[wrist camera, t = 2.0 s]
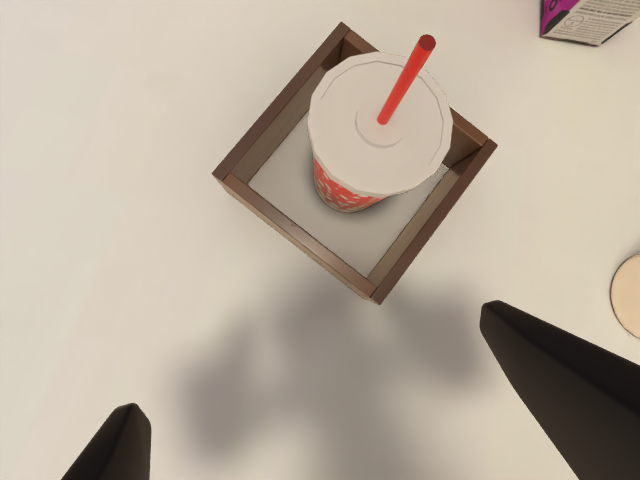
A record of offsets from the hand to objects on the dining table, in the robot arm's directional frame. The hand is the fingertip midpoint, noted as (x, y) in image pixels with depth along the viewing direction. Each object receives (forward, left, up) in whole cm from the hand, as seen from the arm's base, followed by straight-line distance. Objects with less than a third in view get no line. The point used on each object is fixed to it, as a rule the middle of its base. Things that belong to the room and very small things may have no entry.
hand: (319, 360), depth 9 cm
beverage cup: (+3, -8, -14) cm, 16 cm away
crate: (+3, -8, -14) cm, 16 cm away
